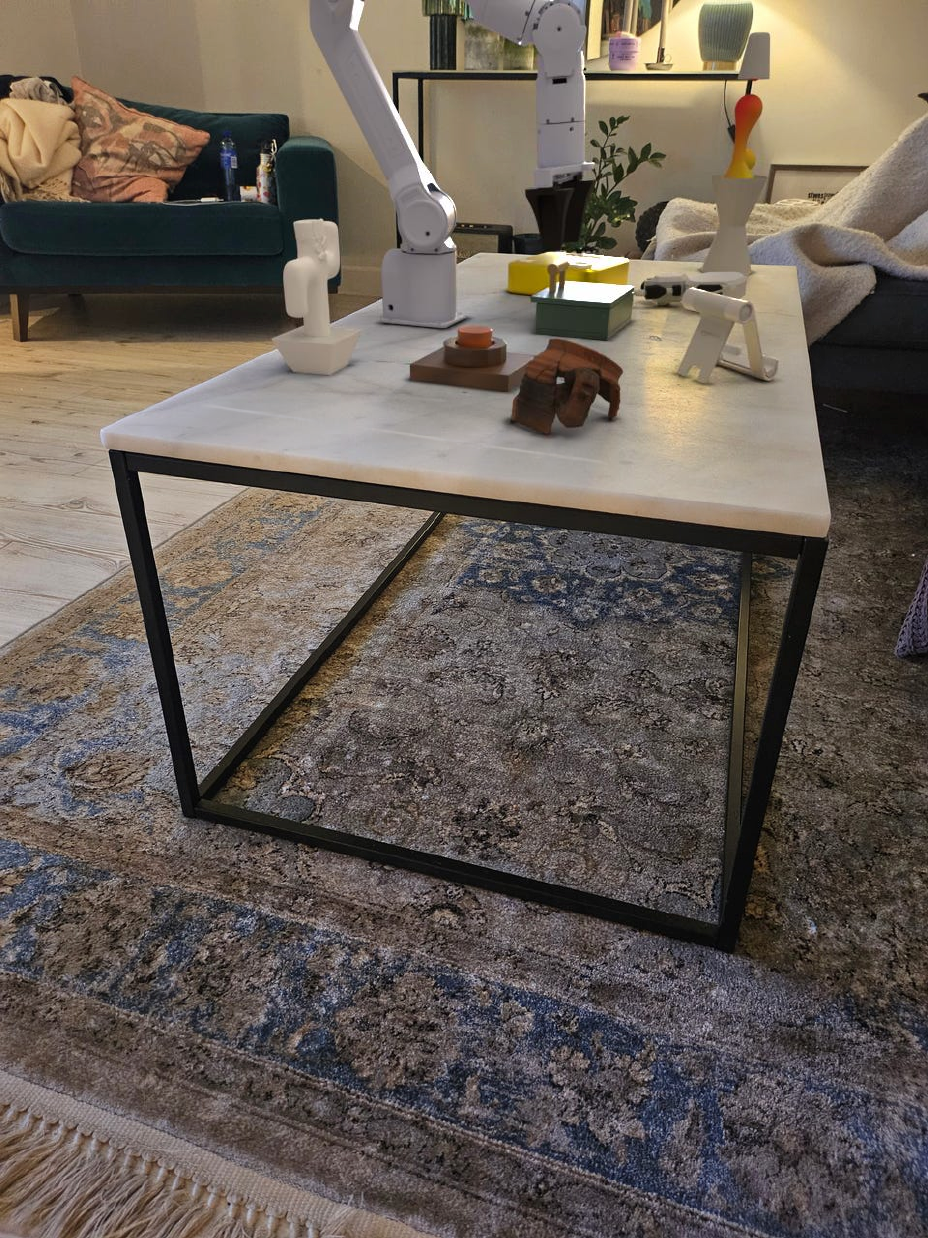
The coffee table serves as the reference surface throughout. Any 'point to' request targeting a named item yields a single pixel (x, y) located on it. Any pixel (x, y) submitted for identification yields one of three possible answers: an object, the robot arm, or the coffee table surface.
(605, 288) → the lid
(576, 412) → the brown arched sculpture
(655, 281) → the robot toy
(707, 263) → the lava lamp
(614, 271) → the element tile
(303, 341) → the figurine
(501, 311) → the coffee table surface
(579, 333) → the enamel box
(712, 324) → the tablet stand
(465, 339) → the button
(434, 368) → the control block
